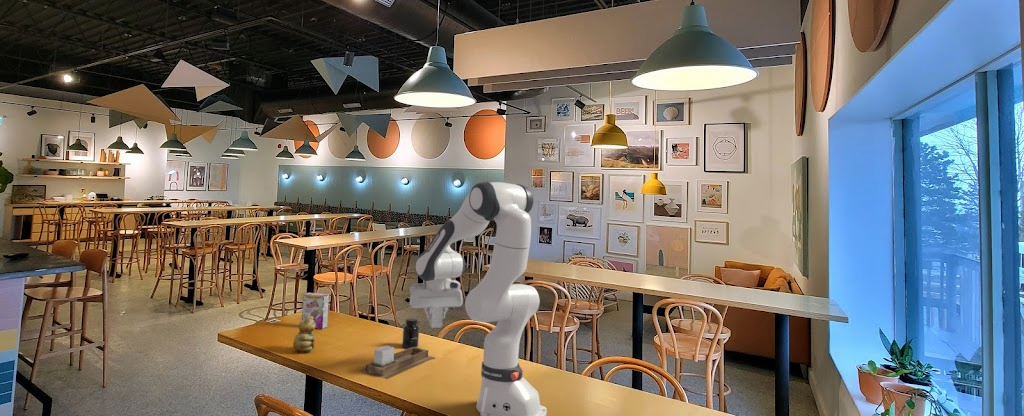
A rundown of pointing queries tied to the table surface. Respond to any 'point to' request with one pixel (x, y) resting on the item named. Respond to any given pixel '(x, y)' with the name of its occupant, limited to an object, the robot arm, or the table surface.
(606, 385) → the table surface
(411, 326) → the supplement bottle
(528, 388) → the robot arm
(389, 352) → the block
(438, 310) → the block
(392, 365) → the brown wooden tray
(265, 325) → the table surface
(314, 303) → the candy bar box
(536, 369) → the table surface
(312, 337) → the decorative figurine
